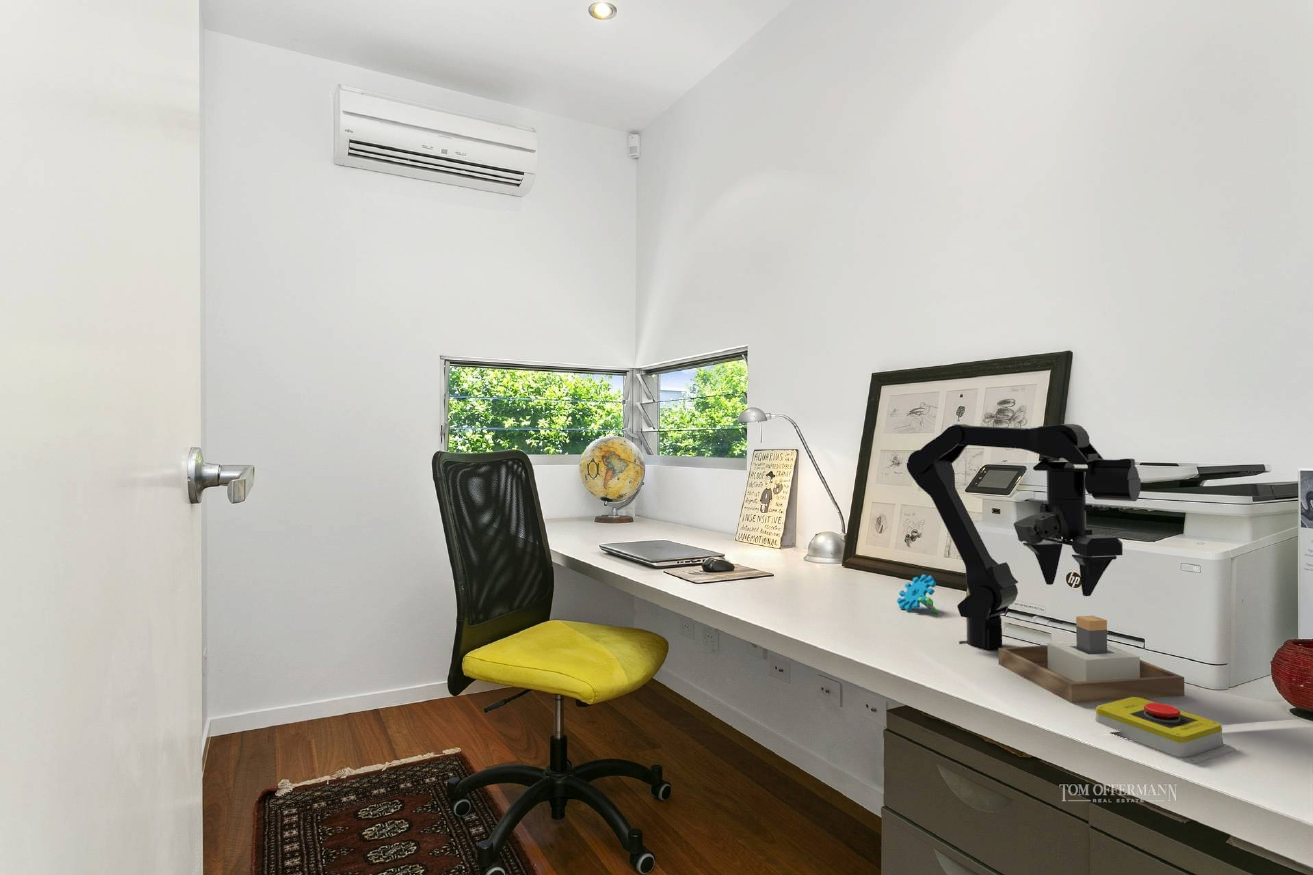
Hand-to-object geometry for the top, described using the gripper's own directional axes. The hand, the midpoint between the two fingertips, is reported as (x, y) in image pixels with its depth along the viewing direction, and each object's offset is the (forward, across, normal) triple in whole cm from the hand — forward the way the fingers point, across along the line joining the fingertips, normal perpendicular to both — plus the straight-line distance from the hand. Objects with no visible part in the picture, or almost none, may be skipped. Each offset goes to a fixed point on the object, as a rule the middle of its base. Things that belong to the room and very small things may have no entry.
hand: (1067, 590), depth 124 cm
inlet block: (+12, +7, -1) cm, 14 cm away
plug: (+11, +7, -1) cm, 13 cm away
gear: (+13, -42, -6) cm, 44 cm away
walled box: (+13, +8, -3) cm, 16 cm away
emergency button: (+14, +27, -8) cm, 31 cm away
